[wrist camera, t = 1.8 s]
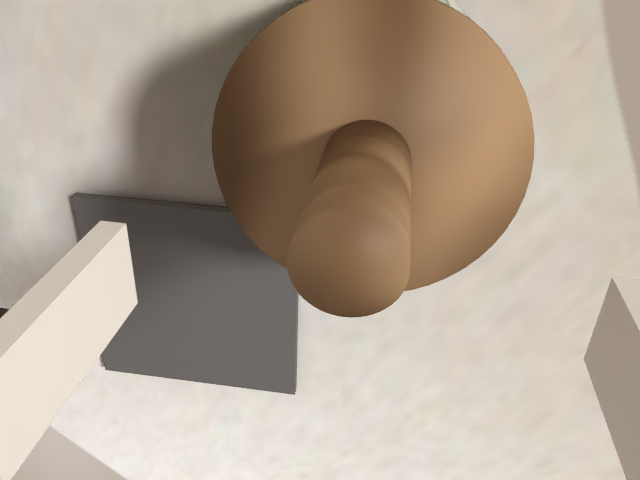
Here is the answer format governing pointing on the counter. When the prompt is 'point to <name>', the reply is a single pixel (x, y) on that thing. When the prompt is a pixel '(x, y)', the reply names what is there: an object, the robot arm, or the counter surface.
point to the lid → (372, 147)
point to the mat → (199, 297)
